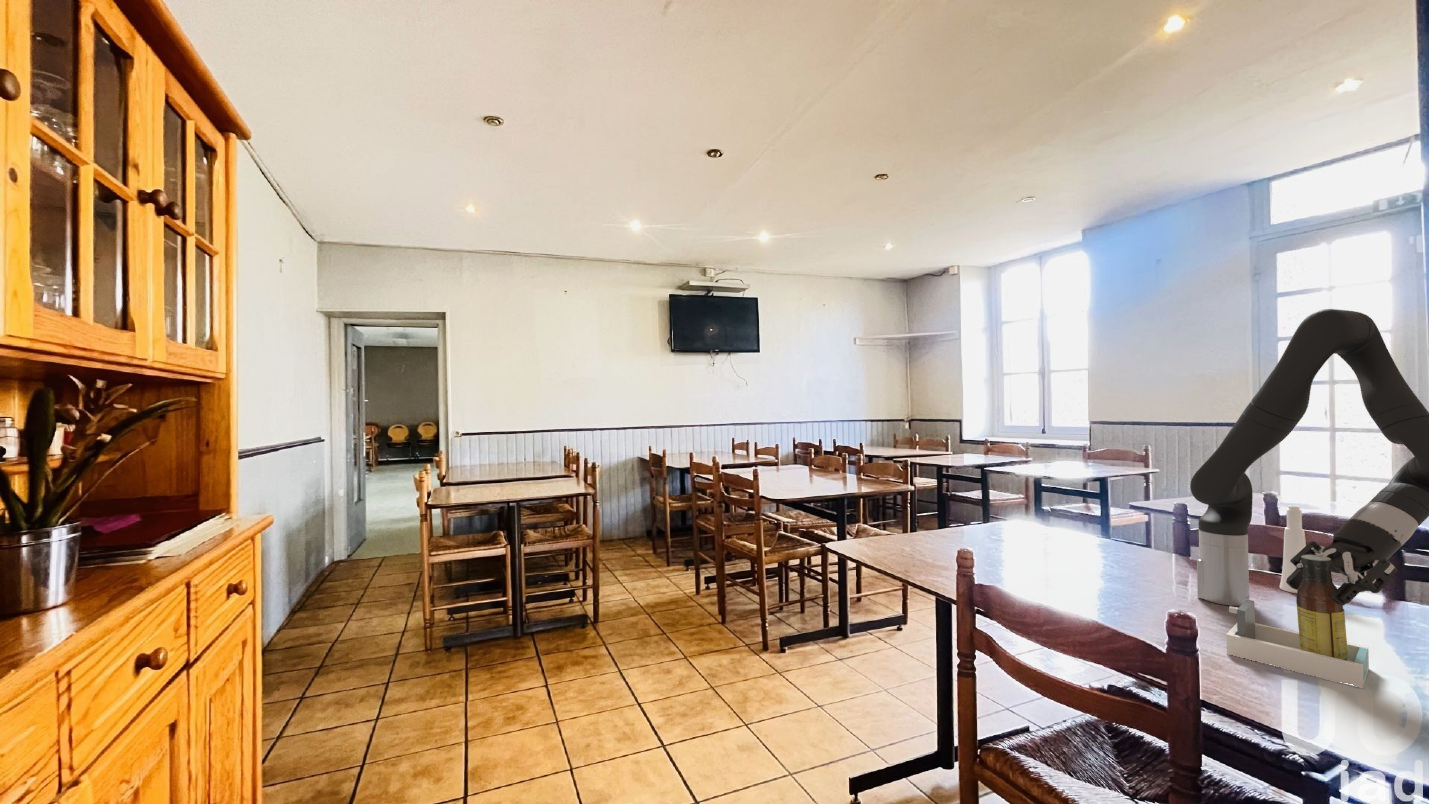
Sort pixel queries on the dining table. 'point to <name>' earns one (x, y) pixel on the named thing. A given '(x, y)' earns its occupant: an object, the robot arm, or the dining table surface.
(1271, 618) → the dining table surface
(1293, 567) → the cosmetic bottle
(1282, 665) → the pusher lane
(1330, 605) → the sauce bottle
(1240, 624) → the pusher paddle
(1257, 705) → the dining table surface
